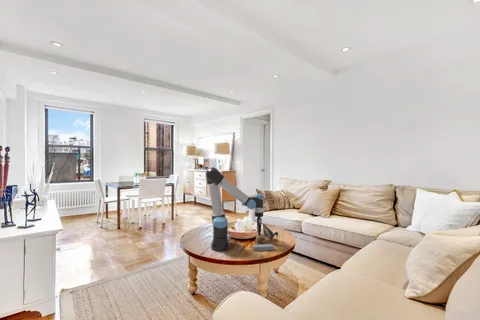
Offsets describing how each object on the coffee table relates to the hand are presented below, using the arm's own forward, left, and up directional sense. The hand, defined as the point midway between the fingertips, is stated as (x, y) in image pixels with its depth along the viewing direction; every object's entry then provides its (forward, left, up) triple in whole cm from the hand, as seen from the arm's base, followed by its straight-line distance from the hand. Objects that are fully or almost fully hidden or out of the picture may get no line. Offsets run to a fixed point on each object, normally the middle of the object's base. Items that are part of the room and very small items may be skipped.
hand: (259, 238), depth 208 cm
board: (0, -22, -1) cm, 22 cm away
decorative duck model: (+12, -1, -1) cm, 12 cm away
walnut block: (0, -8, -2) cm, 8 cm away
